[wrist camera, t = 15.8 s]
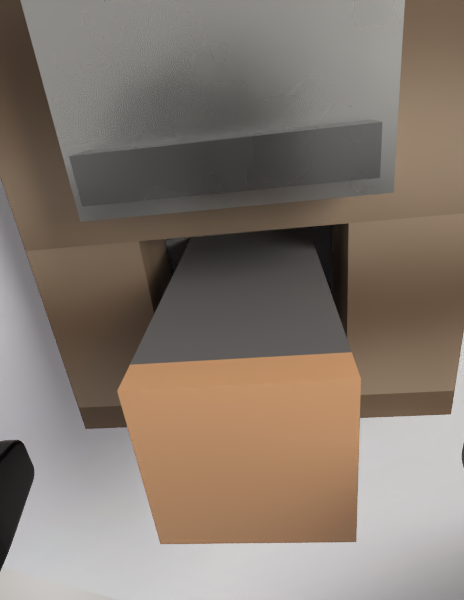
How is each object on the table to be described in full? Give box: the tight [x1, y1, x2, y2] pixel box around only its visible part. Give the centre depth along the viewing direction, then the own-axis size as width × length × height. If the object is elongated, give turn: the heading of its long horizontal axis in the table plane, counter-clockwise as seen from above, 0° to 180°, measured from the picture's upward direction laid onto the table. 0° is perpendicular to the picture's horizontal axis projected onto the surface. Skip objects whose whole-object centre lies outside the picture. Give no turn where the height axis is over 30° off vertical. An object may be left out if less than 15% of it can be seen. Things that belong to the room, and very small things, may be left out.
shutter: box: [20, 0, 405, 222], centre depth 8 cm, size 7×7×3 cm
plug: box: [117, 227, 361, 544], centre depth 12 cm, size 4×4×9 cm
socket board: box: [0, 0, 464, 429], centre depth 13 cm, size 16×13×3 cm
